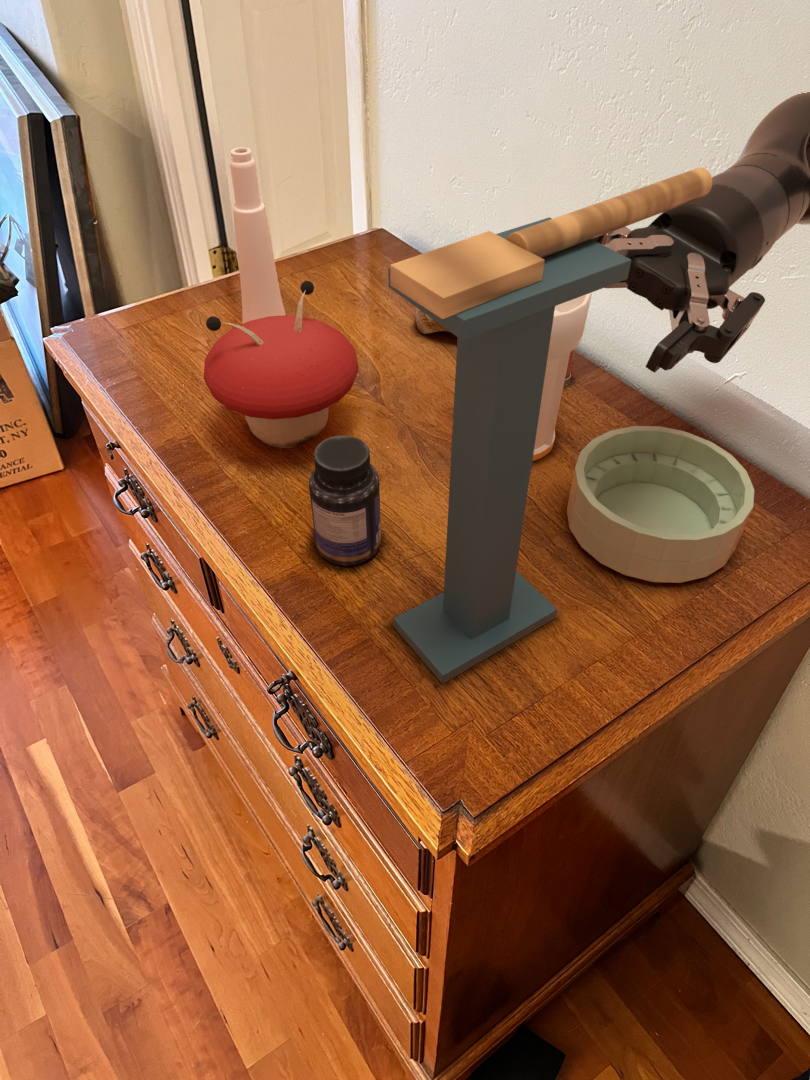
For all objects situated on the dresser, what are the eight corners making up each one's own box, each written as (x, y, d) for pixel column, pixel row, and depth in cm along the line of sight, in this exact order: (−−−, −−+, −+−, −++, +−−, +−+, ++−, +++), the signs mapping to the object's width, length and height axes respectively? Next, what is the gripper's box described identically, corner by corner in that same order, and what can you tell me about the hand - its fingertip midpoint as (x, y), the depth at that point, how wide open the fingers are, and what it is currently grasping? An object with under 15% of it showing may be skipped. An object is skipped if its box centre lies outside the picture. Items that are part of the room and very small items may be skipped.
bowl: (769, 541, 74) (791, 493, 70) (652, 613, 68) (669, 566, 64) (646, 454, 83) (658, 407, 79) (533, 511, 77) (540, 463, 73)
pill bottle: (344, 513, 77) (337, 420, 69) (394, 539, 74) (393, 446, 67) (302, 550, 73) (289, 457, 66) (353, 578, 71) (347, 485, 63)
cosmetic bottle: (253, 351, 97) (224, 164, 82) (235, 328, 101) (204, 146, 86) (298, 337, 100) (278, 154, 84) (278, 316, 103) (256, 137, 88)
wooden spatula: (669, 185, 53) (676, 157, 51) (725, 208, 50) (734, 178, 49) (390, 285, 43) (389, 253, 41) (442, 319, 40) (443, 286, 39)
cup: (561, 477, 81) (589, 324, 68) (451, 463, 82) (459, 310, 70) (567, 413, 88) (594, 264, 76) (467, 401, 90) (477, 253, 78)
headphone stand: (555, 618, 68) (631, 259, 45) (442, 684, 63) (463, 320, 40) (503, 568, 72) (549, 216, 49) (393, 627, 67) (387, 267, 44)
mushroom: (315, 371, 94) (303, 249, 84) (389, 438, 85) (387, 311, 75) (192, 416, 88) (163, 291, 77) (258, 494, 79) (235, 364, 68)
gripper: (659, 144, 60) (533, 226, 53) (826, 236, 56) (716, 340, 48) (625, 230, 67) (508, 314, 59) (773, 319, 62) (668, 423, 55)
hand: (602, 326), depth 54 cm, fingers open, 8 cm apart
